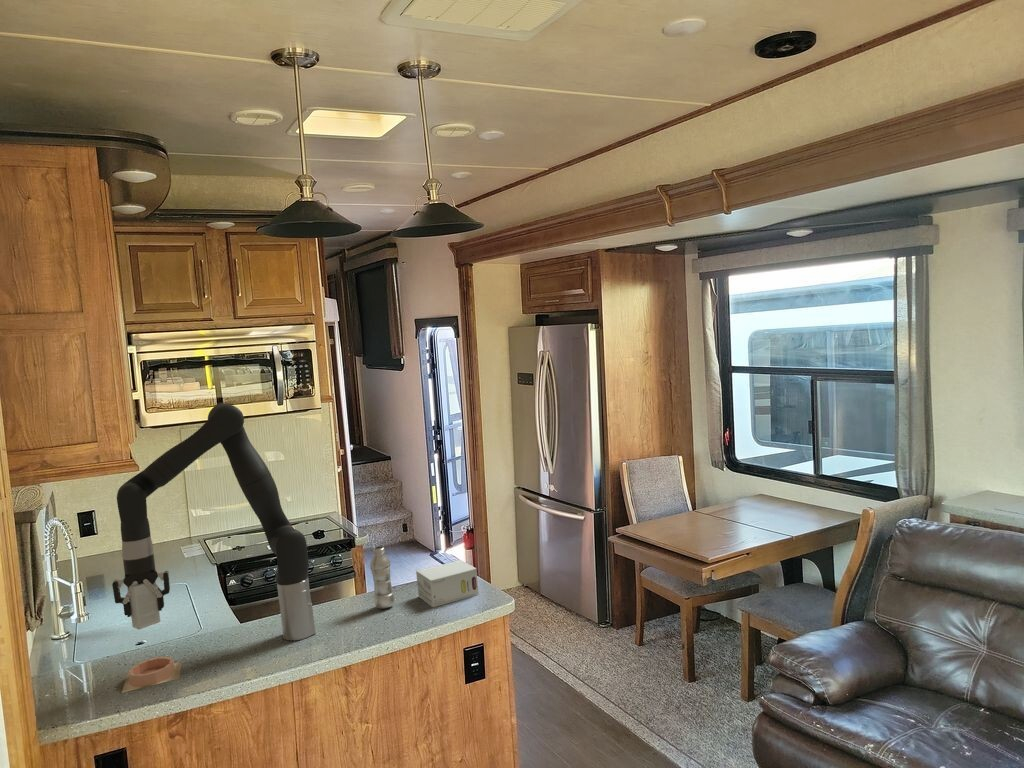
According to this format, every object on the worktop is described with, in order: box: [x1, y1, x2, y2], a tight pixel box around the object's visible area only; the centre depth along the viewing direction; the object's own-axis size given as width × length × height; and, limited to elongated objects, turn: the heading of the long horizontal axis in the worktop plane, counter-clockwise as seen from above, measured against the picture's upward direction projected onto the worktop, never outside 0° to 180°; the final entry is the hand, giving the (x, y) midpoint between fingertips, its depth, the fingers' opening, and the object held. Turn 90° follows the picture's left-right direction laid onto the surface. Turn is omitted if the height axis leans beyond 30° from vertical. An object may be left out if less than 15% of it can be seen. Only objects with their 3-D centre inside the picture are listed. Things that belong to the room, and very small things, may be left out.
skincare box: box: [126, 581, 161, 630], centre depth 196 cm, size 6×4×12 cm
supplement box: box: [415, 559, 479, 608], centre depth 238 cm, size 17×13×9 cm
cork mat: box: [121, 661, 182, 693], centre depth 197 cm, size 14×12×1 cm
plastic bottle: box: [369, 545, 396, 610], centre depth 233 cm, size 6×7×20 cm
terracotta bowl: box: [128, 656, 175, 687], centre depth 197 cm, size 11×11×3 cm
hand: (144, 612), depth 196 cm, fingers closed on skincare box, 7 cm apart
